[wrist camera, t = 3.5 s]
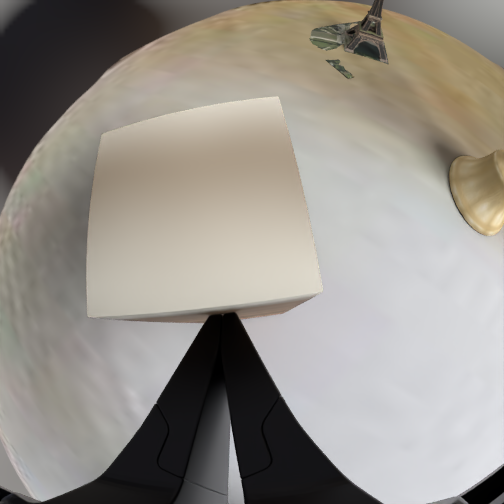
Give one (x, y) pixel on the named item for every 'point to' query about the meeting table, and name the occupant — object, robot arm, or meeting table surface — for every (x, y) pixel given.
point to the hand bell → (480, 190)
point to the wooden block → (199, 218)
